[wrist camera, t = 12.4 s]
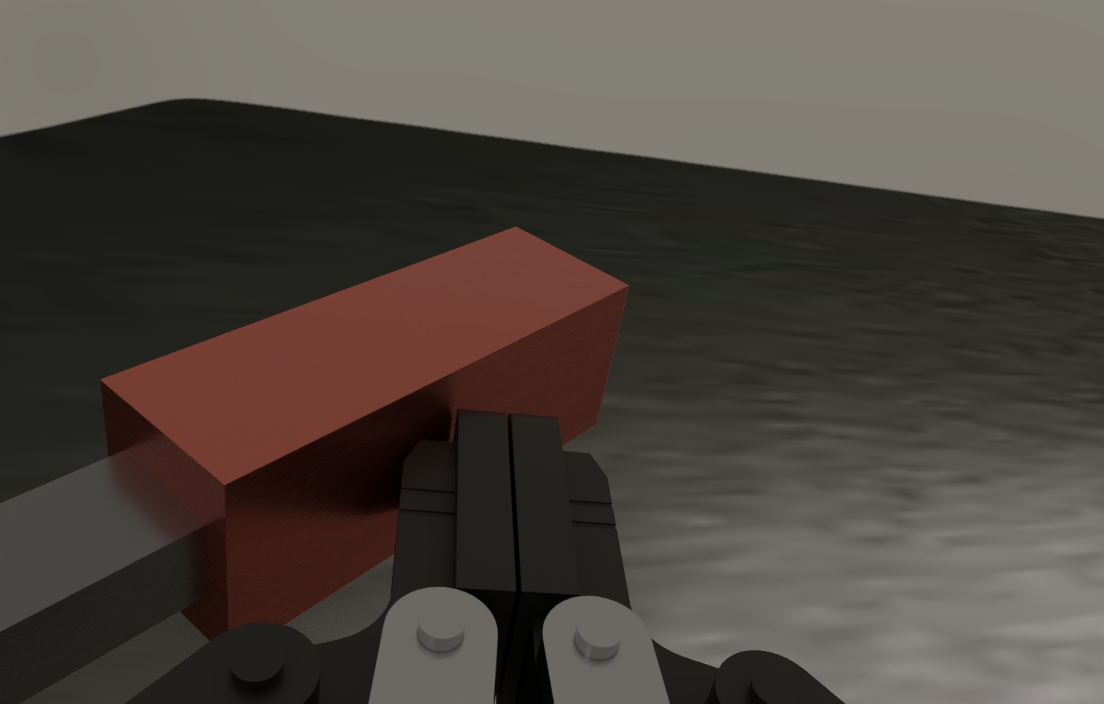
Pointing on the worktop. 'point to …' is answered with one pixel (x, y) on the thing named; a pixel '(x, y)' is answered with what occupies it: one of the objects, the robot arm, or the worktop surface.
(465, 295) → the lever
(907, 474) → the worktop surface
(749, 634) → the worktop surface
